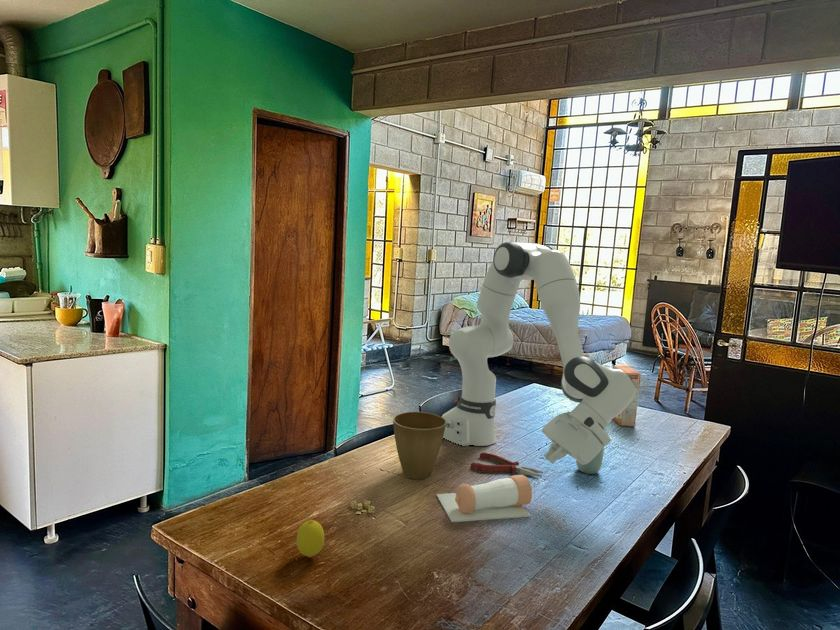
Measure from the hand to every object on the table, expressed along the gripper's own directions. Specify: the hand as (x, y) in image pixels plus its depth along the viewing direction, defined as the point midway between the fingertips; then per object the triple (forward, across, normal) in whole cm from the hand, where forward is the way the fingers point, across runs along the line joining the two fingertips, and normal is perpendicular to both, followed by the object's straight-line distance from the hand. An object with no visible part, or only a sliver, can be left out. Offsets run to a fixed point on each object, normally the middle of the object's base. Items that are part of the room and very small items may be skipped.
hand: (548, 459), depth 142 cm
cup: (-8, -17, +24) cm, 30 cm away
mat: (+20, 0, -4) cm, 21 cm away
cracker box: (-36, -62, +52) cm, 88 cm away
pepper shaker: (+9, +1, +1) cm, 9 cm away
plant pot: (+29, -21, -13) cm, 38 cm away
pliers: (+11, -21, +6) cm, 24 cm away
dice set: (+42, -2, -24) cm, 48 cm away
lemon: (+51, +17, -34) cm, 64 cm away
